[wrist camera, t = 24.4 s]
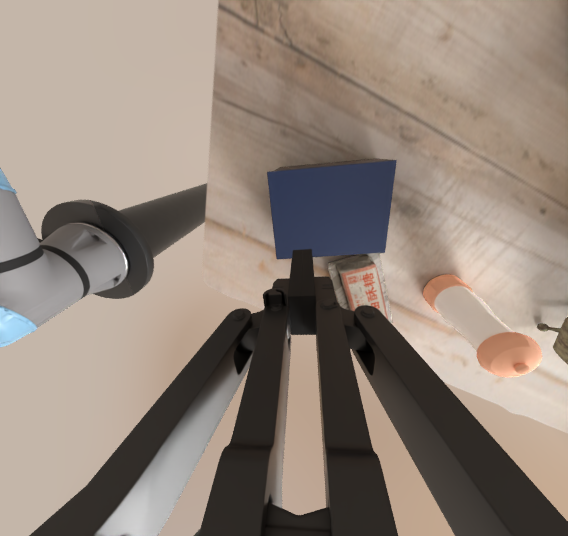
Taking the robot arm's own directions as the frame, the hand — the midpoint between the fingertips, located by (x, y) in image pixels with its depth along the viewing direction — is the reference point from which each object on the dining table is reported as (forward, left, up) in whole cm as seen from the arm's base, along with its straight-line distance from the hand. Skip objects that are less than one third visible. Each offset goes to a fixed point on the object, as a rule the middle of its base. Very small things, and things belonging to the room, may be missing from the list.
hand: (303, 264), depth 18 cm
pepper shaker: (+27, -19, -25) cm, 41 cm away
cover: (+4, 0, -16) cm, 17 cm away
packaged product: (+11, -19, -25) cm, 33 cm away
